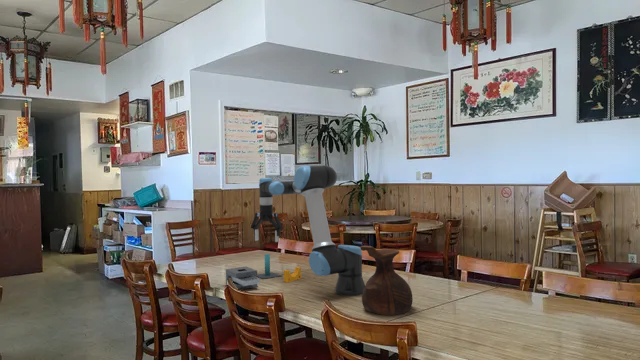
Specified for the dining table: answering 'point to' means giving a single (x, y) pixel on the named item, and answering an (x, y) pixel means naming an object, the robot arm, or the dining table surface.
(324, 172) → the robot arm
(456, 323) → the dining table surface
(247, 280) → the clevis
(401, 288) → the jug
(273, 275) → the mat
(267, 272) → the pin
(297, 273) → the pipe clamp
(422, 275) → the dining table surface
